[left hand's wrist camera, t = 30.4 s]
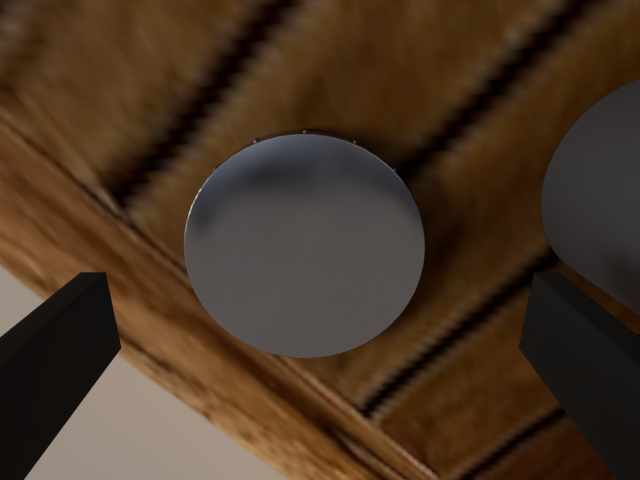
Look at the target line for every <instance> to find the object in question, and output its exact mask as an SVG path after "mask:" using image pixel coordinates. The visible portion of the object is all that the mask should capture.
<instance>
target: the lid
mask: <svg viewBox="0 0 640 480" xmlns="http://www.w3.org/2000/svg"><path fill="white" fill-rule="evenodd" d="M213 170H214V172H213V173H212V174H211V175H210V176H209V177H208V178H207V180H206V181H205V183H204V184H203V186H202V187H201V189H200V190H199V191H198V193H197V196H196V198H195V200H194V202H193V204H192V206H191V208H190V212H189V215H188V218H187V222H186V228H185V233H184V256H185V264H186V268H187V272H188V276H189V279H190V282H191V284H192V287H193V289H194V292H195V294H196V295H197V297H198V299H199V300H200V302H201V304H202V305H203V307H204V308H205V309H206V311H207V312H208V313H209V315H210V316H211V317H212V318H213V319H214V320H215V321H216V322H217V323H218V324H219V325H220V326H221V327H222V328H223V329H225V330H226V331H227V332H228V333H230V334H231V335H232V336H234V337H235V338H237V339H239V340H240V341H242V342H243V343H245V344H248V345H250V346H252V347H254V348H256V349H259V350H262V351H265V352H268V353H271V354H275V355H280V356H284V357H294V358H316V357H325V356H330V355H335V354H339V353H342V352H345V351H348V350H351V349H354V348H356V347H358V346H360V345H362V344H364V343H366V342H368V341H370V340H371V339H373V338H374V337H376V336H377V335H379V334H380V333H381V332H383V331H384V330H385V329H386V328H387V327H389V326H390V325H391V324H392V323H393V322H394V321H395V320H396V319H397V317H398V316H399V315H400V314H401V313H402V311H403V310H404V309H405V307H406V306H407V305H408V303H409V301H410V299H411V298H412V296H413V294H414V292H415V290H416V287H417V285H418V282H419V280H420V277H421V273H422V269H423V264H424V255H425V235H424V229H423V224H422V219H421V216H420V213H419V208H418V207H417V205H416V203H415V201H414V199H413V197H412V195H411V193H410V191H409V190H408V188H407V187H406V185H405V184H404V182H403V181H402V180H401V178H400V177H399V176H398V175H397V174H396V173H395V171H396V170H395V169H394V168H393V167H392V166H391V165H390V164H389V165H388V164H386V163H385V162H384V161H383V160H382V159H381V158H380V157H378V156H377V155H376V154H375V153H374V152H372V151H371V150H369V149H368V148H366V147H364V146H363V145H361V144H359V143H357V142H356V141H355V140H354V139H353V138H351V140H350V139H348V138H346V137H343V136H340V135H336V134H332V133H329V132H322V131H315V130H306V128H304V130H295V131H287V132H280V133H277V134H273V135H269V136H266V137H263V138H261V139H259V137H258V138H256V139H255V140H254V141H253V142H252V143H250V144H248V145H246V146H245V147H243V148H241V149H240V150H238V151H237V152H236V153H234V154H233V155H232V156H231V157H229V158H228V159H227V160H226V161H225V162H223V163H222V164H219V165H218V166H216V167H215V168H214V169H213Z"/></svg>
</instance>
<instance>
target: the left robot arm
mask: <svg viewBox="0 0 640 480" xmlns="http://www.w3.org/2000/svg"><path fill="white" fill-rule="evenodd" d="M120 349H121V344H120V339H119V334H118V329H117V325H116V320H115V315H114V310H113V305H112V301H111V296H110V291H109V286H108V281H107V277H106V272H81V273H79V274H78V275H77V276H76V277H74V278H73V279H72V280H71V281H69V282H68V283H67V284H66V285H64V286H63V287H62V288H61V289H60V290H58V291H57V292H56V293H55V294H53V295H52V296H51V297H50V298H48V299H47V300H46V301H45V302H43V303H42V304H41V305H40V306H38V307H37V308H36V309H35V310H34V311H32V312H31V313H30V314H29V315H27V316H26V317H25V318H24V319H22V320H21V321H20V322H19V323H17V324H16V325H15V326H14V327H12V328H11V329H10V330H9V331H8V332H6V333H5V334H4V335H3V336H1V337H0V480H24V479H25V477H26V476H27V475H28V473H29V472H30V471H31V469H32V468H33V467H34V465H35V464H36V463H37V461H38V460H39V459H40V457H41V456H42V454H43V453H44V452H45V450H46V449H47V448H48V446H49V445H50V444H51V442H52V441H53V440H54V438H55V437H56V436H57V434H58V433H59V431H60V430H61V429H62V427H63V426H64V425H65V423H66V422H67V421H68V419H69V418H70V417H71V415H72V414H73V412H74V411H75V410H76V409H77V407H78V406H79V404H80V403H81V402H82V400H83V399H84V398H85V396H86V395H87V394H88V392H89V391H90V390H91V388H92V387H93V385H94V384H95V383H96V381H97V380H98V379H99V377H100V376H101V375H102V373H103V372H104V371H105V369H106V368H107V366H108V365H109V364H110V363H111V361H112V360H113V358H114V357H115V356H116V354H117V353H118V352H119V350H120ZM519 349H520V350H521V352H522V353H523V354H524V356H525V357H526V358H527V360H528V361H529V363H530V364H531V365H532V367H533V368H534V369H535V371H536V372H537V373H538V375H539V376H540V377H541V379H542V380H543V381H544V383H545V384H546V386H547V387H548V388H549V390H550V391H551V392H552V394H553V395H554V396H555V398H556V399H557V400H558V402H559V403H560V404H561V406H562V407H563V409H564V410H565V411H566V413H567V414H568V415H569V417H570V418H571V419H572V421H573V422H574V423H575V425H576V426H577V427H578V429H579V430H580V431H581V433H582V434H583V436H584V437H585V438H586V440H587V441H588V442H589V444H590V445H591V446H592V448H593V449H594V450H595V452H596V453H597V454H598V456H599V457H600V459H601V460H602V461H603V463H604V464H605V465H606V467H607V468H608V469H609V471H610V472H611V473H612V475H613V476H614V477H615V479H616V480H640V337H639V336H637V335H636V334H635V333H634V332H633V331H631V330H630V329H629V328H628V327H626V326H625V325H624V324H623V323H621V322H620V321H619V320H618V319H616V318H615V317H614V316H613V315H611V314H610V313H609V312H608V311H606V310H605V309H604V308H603V307H602V306H600V305H599V304H598V303H597V302H595V301H594V300H593V299H592V298H590V297H589V296H588V295H587V294H585V293H584V292H583V291H582V290H580V289H579V288H578V287H577V286H576V285H574V284H573V283H572V282H571V281H569V280H568V279H567V278H566V277H564V276H563V275H562V274H561V273H559V272H534V277H533V281H532V286H531V291H530V296H529V301H528V305H527V310H526V315H525V320H524V325H523V329H522V334H521V339H520V344H519Z"/></svg>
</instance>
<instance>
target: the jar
mask: <svg viewBox="0 0 640 480" xmlns="http://www.w3.org/2000/svg"><path fill="white" fill-rule="evenodd" d="M541 218H542V223H543V228H544V232H545V234H546V237H547V239H548V242H549V244H550V245H551V247H552V249H553V250H554V252H555V253H556V254H557V256H558V257H559V258H560V259H561V260H562V261H563V262H564V263H565V264H566V265H567V266H569V267H570V268H571V269H573V270H574V271H575V272H577V273H578V274H580V275H581V276H583V277H584V278H586V279H587V280H589V281H590V282H591V283H593V284H594V285H596V286H597V287H599V288H600V289H602V290H603V291H605V292H606V293H607V294H609V295H610V296H612V297H613V298H615V299H616V300H618V301H619V302H621V303H622V304H623V305H625V306H626V307H628V308H629V309H631V310H632V311H634V312H635V313H636V314H638V315H639V316H640V79H637V80H635V81H632V82H630V83H628V84H625V85H623V86H621V87H620V88H618V89H616V90H614V91H612V92H611V93H609V94H608V95H606V96H605V97H603V98H602V99H601V100H599V101H598V102H596V103H595V104H594V105H593V106H592V107H590V108H589V109H588V110H587V111H586V112H585V113H584V114H583V115H582V116H581V117H580V118H579V119H578V120H577V121H576V122H575V123H574V124H573V125H572V127H571V128H570V129H569V131H568V132H567V133H566V135H565V136H564V137H563V139H562V140H561V142H560V144H559V145H558V147H557V149H556V150H555V152H554V154H553V157H552V159H551V161H550V163H549V165H548V168H547V171H546V175H545V178H544V181H543V187H542V192H541Z"/></svg>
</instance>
